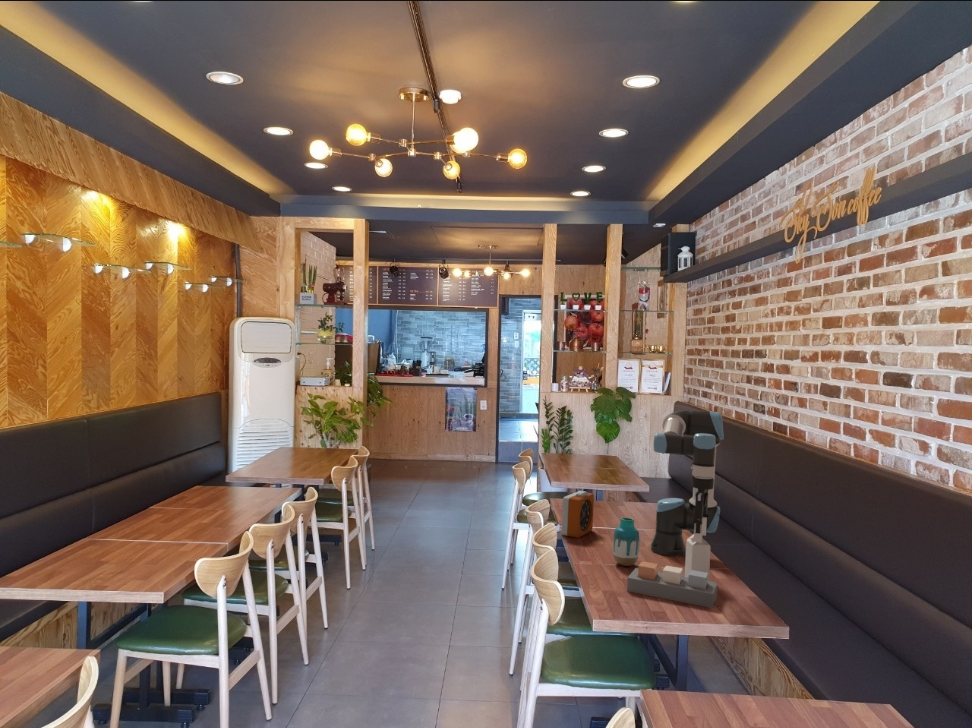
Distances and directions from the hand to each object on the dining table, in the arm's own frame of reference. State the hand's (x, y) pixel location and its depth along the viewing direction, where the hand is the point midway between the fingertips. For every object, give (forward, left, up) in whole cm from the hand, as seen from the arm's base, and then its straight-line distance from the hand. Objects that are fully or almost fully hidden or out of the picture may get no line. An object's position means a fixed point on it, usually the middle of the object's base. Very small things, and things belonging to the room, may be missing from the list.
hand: (699, 538), depth 236 cm
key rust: (0, -18, -19) cm, 26 cm away
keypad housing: (0, -9, -22) cm, 24 cm away
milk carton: (-20, -3, -22) cm, 30 cm away
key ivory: (0, -9, -19) cm, 21 cm away
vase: (-24, -32, -22) cm, 45 cm away
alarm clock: (-59, -64, -22) cm, 89 cm away
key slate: (0, 0, -19) cm, 19 cm away
